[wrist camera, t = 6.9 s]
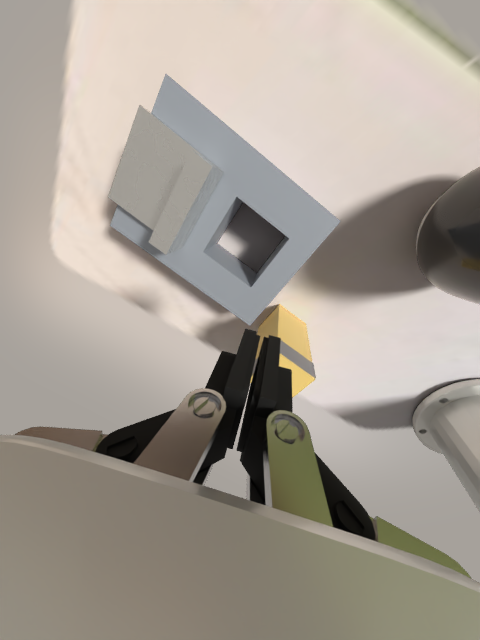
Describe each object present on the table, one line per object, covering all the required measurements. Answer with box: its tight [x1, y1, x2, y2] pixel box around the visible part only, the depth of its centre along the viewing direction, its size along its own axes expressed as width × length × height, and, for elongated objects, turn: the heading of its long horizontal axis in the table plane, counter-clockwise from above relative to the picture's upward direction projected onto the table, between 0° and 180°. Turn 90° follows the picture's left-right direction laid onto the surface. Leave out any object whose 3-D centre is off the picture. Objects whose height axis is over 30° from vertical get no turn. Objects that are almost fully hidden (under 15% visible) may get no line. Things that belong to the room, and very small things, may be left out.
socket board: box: [110, 74, 341, 326], centre depth 22 cm, size 16×12×5 cm
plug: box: [250, 304, 316, 398], centre depth 24 cm, size 4×4×10 cm
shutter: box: [108, 105, 224, 255], centre depth 18 cm, size 7×7×3 cm
